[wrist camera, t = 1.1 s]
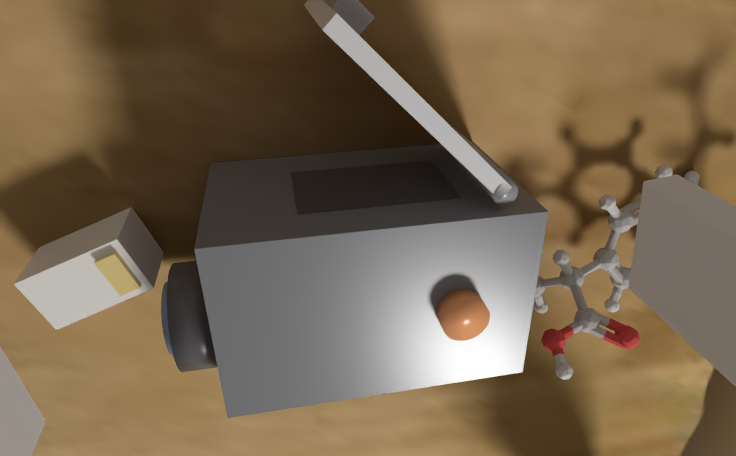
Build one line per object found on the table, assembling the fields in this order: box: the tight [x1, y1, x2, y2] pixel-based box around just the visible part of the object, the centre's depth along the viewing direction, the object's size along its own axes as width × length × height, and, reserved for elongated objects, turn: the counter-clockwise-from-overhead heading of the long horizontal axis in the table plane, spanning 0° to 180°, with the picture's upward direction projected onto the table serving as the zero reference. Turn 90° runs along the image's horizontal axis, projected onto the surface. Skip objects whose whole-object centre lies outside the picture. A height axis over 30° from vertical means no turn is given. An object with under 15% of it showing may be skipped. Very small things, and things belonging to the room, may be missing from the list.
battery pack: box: [14, 207, 164, 330], centre depth 31 cm, size 6×4×4 cm, turn 111°
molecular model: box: [534, 165, 700, 380], centre depth 35 cm, size 19×10×10 cm, turn 100°
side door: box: [304, 0, 518, 205], centre depth 26 cm, size 12×2×8 cm, turn 46°
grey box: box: [161, 141, 548, 418], centre depth 30 cm, size 19×10×11 cm, turn 91°
